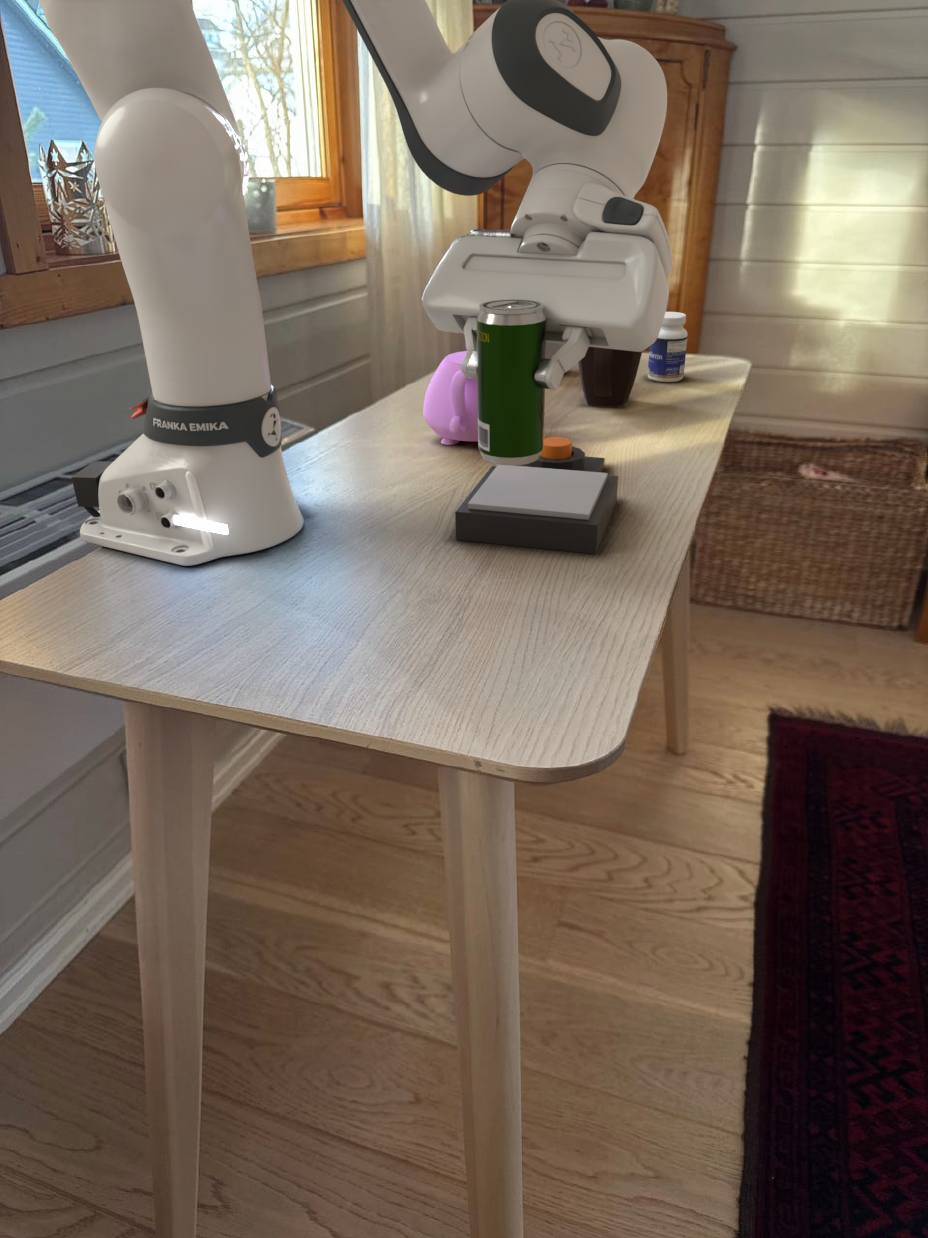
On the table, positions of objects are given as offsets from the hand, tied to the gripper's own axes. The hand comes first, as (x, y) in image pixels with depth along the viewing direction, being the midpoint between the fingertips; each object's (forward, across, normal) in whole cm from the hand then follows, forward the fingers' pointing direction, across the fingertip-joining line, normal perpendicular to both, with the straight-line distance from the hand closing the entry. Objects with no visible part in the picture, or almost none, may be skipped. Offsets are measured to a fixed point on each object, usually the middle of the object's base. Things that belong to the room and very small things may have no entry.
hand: (507, 380), depth 71 cm
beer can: (+4, 0, +5) cm, 7 cm away
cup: (-38, -35, +64) cm, 83 cm away
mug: (-28, -17, +55) cm, 64 cm away
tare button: (-8, -9, +31) cm, 33 cm away
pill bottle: (-42, -15, +68) cm, 81 cm away
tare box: (-6, -9, +32) cm, 34 cm away
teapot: (-13, -25, +40) cm, 49 cm away
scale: (+2, -5, +24) cm, 24 cm away
